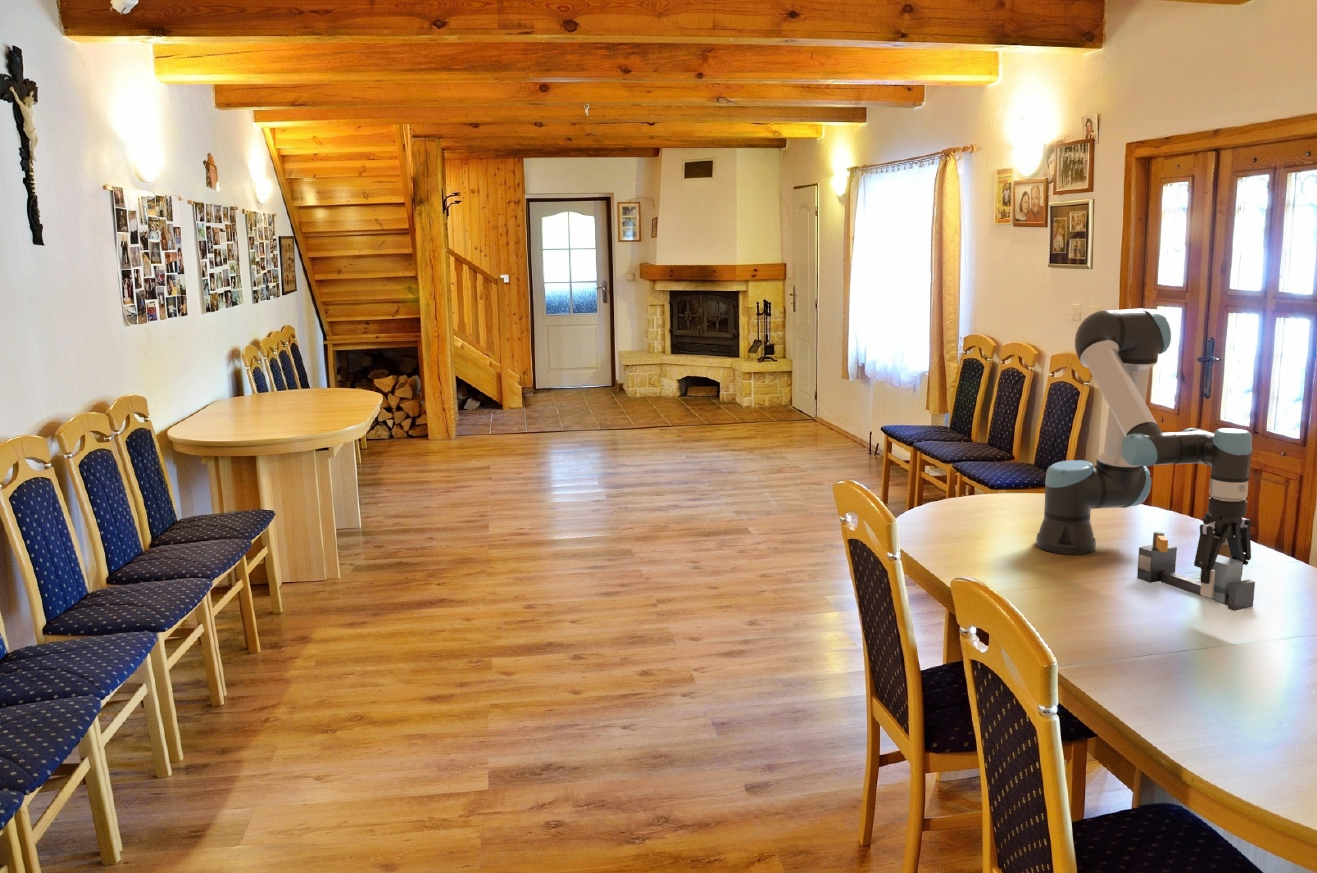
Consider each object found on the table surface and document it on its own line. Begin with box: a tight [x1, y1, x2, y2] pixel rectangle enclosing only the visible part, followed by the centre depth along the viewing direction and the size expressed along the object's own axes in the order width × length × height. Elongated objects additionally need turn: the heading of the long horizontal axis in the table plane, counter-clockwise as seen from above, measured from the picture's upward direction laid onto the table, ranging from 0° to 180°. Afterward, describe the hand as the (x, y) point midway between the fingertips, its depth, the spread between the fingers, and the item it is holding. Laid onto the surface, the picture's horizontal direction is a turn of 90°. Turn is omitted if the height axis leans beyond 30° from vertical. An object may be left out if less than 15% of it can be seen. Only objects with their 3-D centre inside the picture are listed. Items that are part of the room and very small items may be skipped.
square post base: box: [1227, 578, 1256, 612], centre depth 221 cm, size 2×6×6 cm, turn 112°
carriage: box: [1210, 555, 1244, 604], centre depth 225 cm, size 6×5×9 cm
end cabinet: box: [1136, 543, 1178, 584], centre depth 242 cm, size 4×8×8 cm, turn 112°
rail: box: [1160, 571, 1229, 606], centre depth 231 cm, size 19×2×2 cm, turn 22°
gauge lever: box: [1152, 531, 1169, 552], centre depth 239 cm, size 2×6×3 cm, turn 168°
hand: (1220, 593), depth 226 cm, fingers open, 8 cm apart
